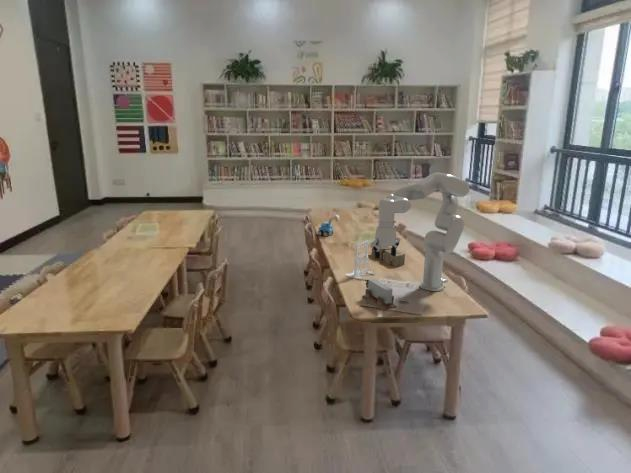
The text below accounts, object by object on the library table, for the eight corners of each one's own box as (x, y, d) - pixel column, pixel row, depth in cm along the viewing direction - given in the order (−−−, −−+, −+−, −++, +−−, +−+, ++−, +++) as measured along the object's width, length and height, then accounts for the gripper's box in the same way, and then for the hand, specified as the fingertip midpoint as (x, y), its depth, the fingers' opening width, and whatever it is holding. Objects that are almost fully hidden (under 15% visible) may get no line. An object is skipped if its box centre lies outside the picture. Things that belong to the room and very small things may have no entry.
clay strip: (373, 291, 238) (374, 278, 236) (391, 302, 224) (392, 289, 222) (367, 292, 236) (368, 279, 234) (385, 303, 222) (386, 290, 221)
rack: (376, 294, 240) (376, 285, 239) (396, 307, 225) (397, 297, 223) (362, 297, 237) (362, 287, 235) (381, 310, 221) (382, 300, 220)
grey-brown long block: (405, 267, 289) (379, 253, 314) (406, 254, 286) (380, 241, 311) (395, 268, 285) (370, 254, 310) (396, 255, 283) (370, 242, 308)
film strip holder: (355, 269, 279) (356, 237, 274) (375, 274, 272) (377, 241, 266) (342, 275, 268) (344, 242, 263) (363, 280, 260) (365, 246, 255)
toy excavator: (334, 238, 349) (335, 216, 345) (316, 235, 358) (316, 213, 353) (340, 236, 356) (341, 214, 352) (322, 233, 365) (322, 211, 360)
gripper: (396, 220, 232) (395, 252, 237) (367, 224, 224) (366, 257, 229) (405, 223, 225) (404, 256, 230) (375, 227, 218) (375, 262, 223)
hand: (385, 257), depth 230 cm, fingers open, 9 cm apart
